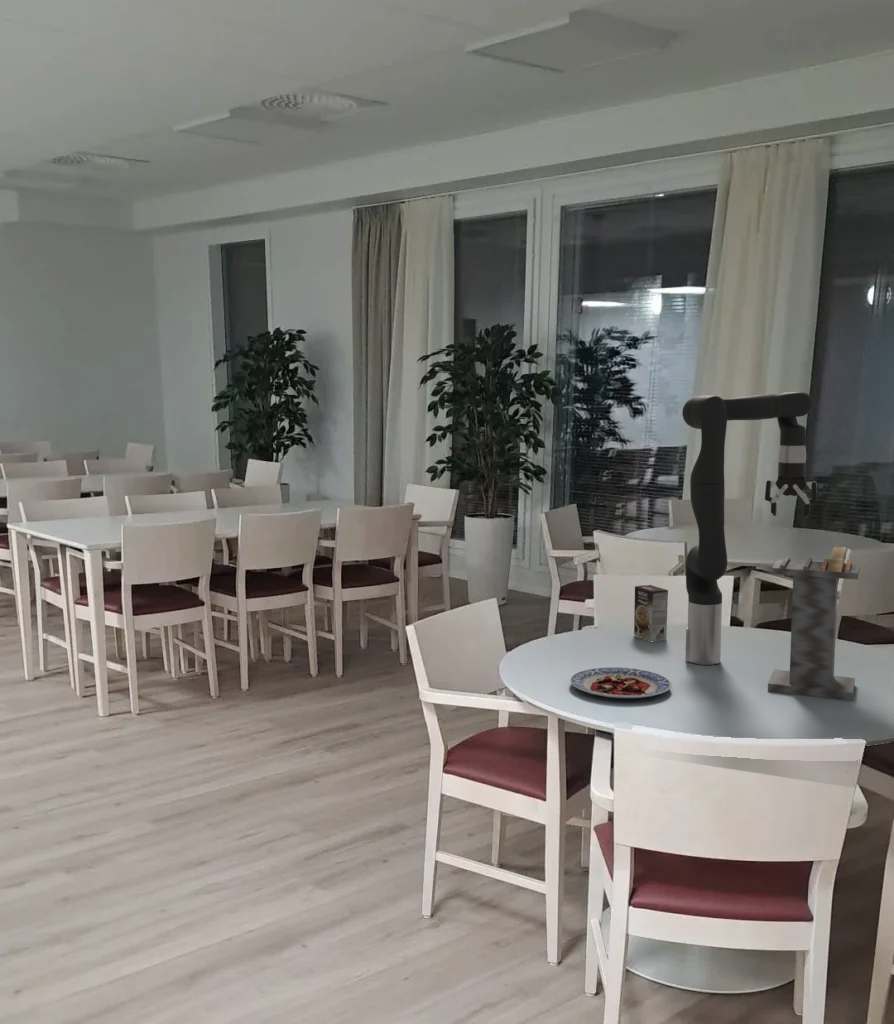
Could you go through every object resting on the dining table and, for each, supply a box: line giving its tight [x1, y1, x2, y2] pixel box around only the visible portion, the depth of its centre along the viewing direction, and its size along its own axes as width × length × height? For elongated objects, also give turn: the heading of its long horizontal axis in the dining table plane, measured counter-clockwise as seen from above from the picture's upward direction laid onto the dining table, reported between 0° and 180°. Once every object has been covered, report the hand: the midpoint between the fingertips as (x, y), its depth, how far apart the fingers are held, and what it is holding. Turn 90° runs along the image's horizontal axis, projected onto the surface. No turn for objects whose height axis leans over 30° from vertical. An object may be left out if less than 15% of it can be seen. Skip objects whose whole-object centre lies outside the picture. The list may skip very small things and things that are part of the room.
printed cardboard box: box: [633, 584, 669, 642], centre depth 297 cm, size 9×6×16 cm
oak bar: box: [828, 546, 847, 572], centre depth 244 cm, size 3×22×3 cm, turn 155°
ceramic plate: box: [570, 666, 672, 700], centre depth 247 cm, size 26×26×3 cm
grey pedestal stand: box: [767, 556, 861, 702], centre depth 244 cm, size 20×14×33 cm
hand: (790, 516), depth 279 cm, fingers open, 8 cm apart
